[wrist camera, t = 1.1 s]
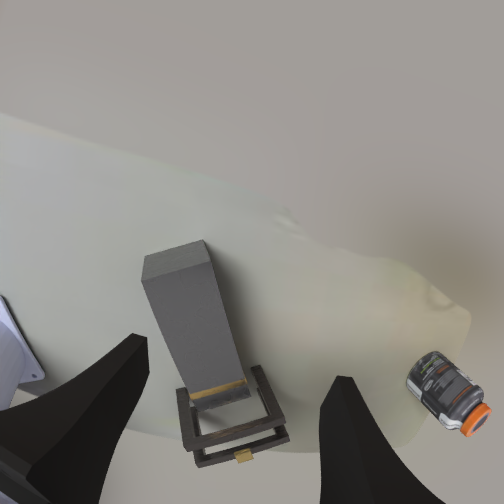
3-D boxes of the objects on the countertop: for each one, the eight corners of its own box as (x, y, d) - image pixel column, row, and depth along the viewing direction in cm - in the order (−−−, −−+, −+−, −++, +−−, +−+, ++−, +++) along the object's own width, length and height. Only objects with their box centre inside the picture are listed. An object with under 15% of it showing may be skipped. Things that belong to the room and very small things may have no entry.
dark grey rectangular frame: (189, 415, 26) (200, 473, 20) (185, 407, 25) (195, 466, 19) (267, 392, 27) (292, 445, 21) (264, 383, 26) (290, 438, 20)
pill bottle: (399, 394, 34) (452, 453, 23) (412, 357, 32) (475, 417, 21) (432, 379, 35) (484, 430, 25) (445, 344, 33) (505, 394, 23)
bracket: (179, 395, 25) (187, 452, 19) (175, 389, 24) (183, 446, 19) (261, 371, 26) (286, 423, 20) (260, 364, 26) (284, 417, 20)
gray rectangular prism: (191, 377, 24) (197, 412, 21) (144, 256, 20) (140, 281, 17) (239, 363, 25) (251, 396, 21) (203, 239, 21) (211, 260, 17)
